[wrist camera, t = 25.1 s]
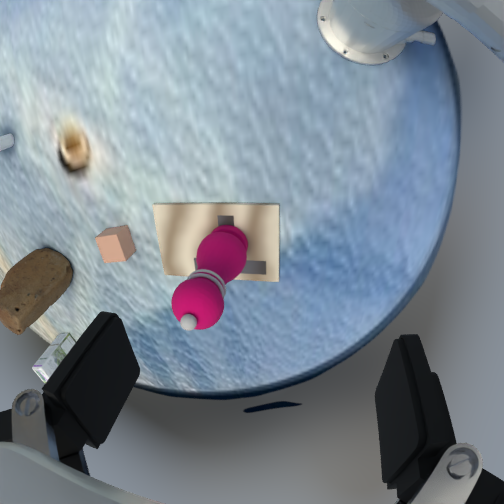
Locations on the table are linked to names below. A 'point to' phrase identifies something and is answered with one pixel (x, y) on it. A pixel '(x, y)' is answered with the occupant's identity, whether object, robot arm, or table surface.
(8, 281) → the block
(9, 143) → the strainer
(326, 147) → the table surface
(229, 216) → the board
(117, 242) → the block
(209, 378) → the table surface
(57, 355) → the syrup box
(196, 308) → the pepper mill
